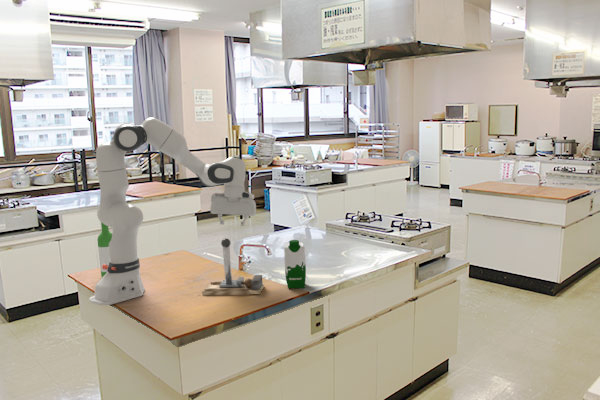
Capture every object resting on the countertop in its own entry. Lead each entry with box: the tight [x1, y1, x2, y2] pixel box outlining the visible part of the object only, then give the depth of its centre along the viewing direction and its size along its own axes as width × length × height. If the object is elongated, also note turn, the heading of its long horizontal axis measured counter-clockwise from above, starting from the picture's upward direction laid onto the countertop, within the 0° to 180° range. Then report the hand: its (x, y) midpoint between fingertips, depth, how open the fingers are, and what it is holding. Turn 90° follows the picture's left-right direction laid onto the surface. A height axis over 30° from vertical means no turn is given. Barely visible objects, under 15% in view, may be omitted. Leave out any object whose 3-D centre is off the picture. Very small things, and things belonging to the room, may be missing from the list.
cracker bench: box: [201, 274, 265, 296], centre depth 207 cm, size 24×10×6 cm, turn 84°
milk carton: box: [283, 239, 307, 290], centre depth 208 cm, size 9×9×20 cm
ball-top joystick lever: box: [219, 238, 245, 288], centre depth 205 cm, size 9×7×21 cm
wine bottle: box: [97, 221, 113, 279], centre depth 233 cm, size 8×8×30 cm
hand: (232, 225), depth 219 cm, fingers open, 8 cm apart
